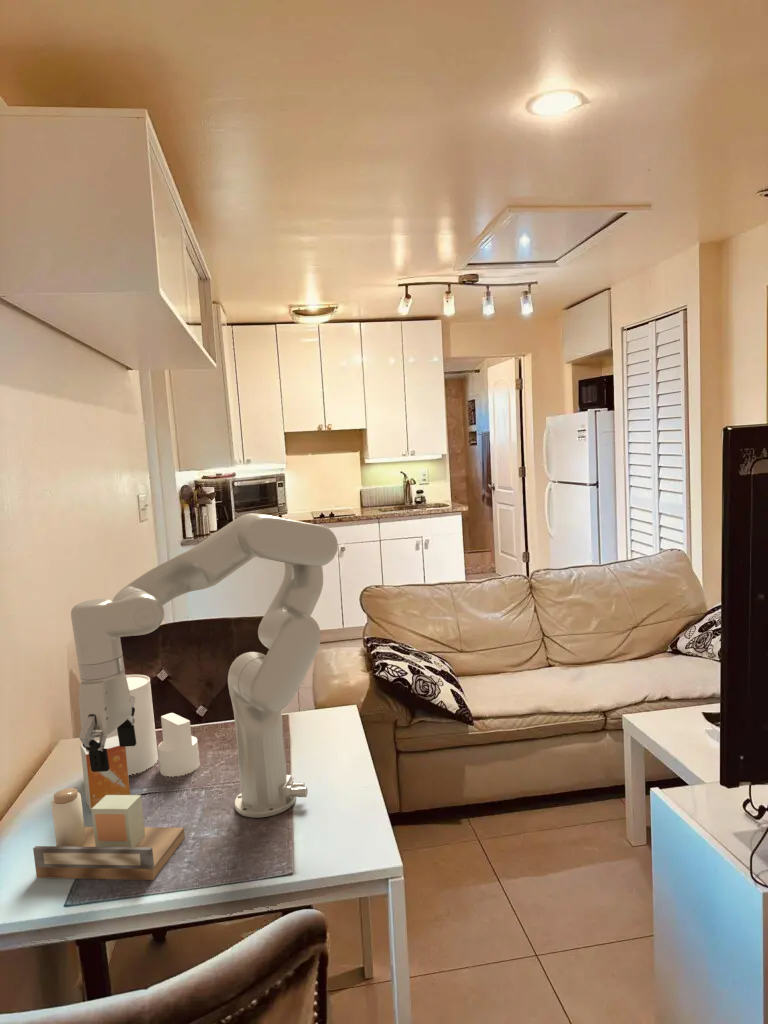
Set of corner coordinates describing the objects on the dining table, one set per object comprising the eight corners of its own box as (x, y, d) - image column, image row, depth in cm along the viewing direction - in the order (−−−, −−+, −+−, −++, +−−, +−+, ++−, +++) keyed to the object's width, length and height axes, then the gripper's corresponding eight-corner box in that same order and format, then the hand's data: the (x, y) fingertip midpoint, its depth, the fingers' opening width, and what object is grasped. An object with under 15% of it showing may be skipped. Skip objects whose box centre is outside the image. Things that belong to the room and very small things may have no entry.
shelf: (184, 837, 131) (182, 810, 131) (153, 880, 118) (149, 850, 118) (78, 836, 134) (75, 809, 134) (35, 878, 121) (32, 849, 121)
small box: (91, 815, 143) (84, 754, 141) (86, 803, 148) (79, 744, 147) (131, 801, 147) (125, 743, 146) (125, 790, 152) (118, 734, 151)
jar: (91, 837, 130) (85, 786, 129) (76, 852, 125) (70, 800, 124) (66, 836, 131) (61, 786, 130) (50, 852, 126) (44, 800, 125)
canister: (85, 774, 162) (76, 692, 160) (124, 750, 174) (116, 673, 173) (133, 779, 157) (124, 695, 156) (169, 754, 170) (161, 675, 168)
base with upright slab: (153, 769, 162) (148, 720, 161) (188, 755, 168) (183, 708, 167) (171, 780, 156) (166, 729, 155) (206, 766, 162) (202, 716, 161)
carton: (110, 835, 130) (106, 794, 130) (145, 835, 129) (140, 795, 129) (95, 851, 125) (90, 809, 125) (131, 851, 124) (126, 809, 124)
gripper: (107, 653, 133) (119, 737, 135) (54, 686, 116) (68, 782, 118) (143, 651, 132) (155, 736, 134) (95, 684, 115) (109, 781, 117)
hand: (114, 757), depth 126 cm, fingers open, 9 cm apart
